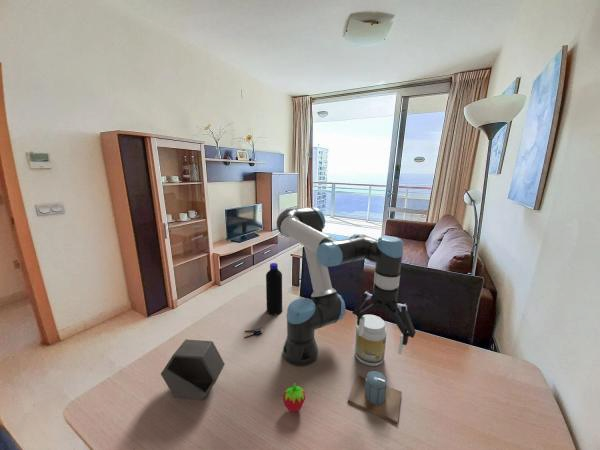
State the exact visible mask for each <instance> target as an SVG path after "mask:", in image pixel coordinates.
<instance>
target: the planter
mask: <svg viewBox="0 0 600 450" xmlns="http://www.w3.org/2000/svg"><path fill="white" fill-rule="evenodd" d="M224 367H225V362H224V360H223V358H222V356H221V355H220V352H219V351H218V350H217V347H216V345H215V344H214V341H211V340H199V339H197V340H196V339H184V340H183V342H181V345H180V346H179V347H178V348H177V349H176V351H175V352H174V353H173V355H171V358H170V359H169V361H168V362H167V363H166V365H165V367H164V368H163V370H162V371H161V372H160V376H161V377H162V379H163V380H164V382H165V384H166V386H167V387H168V389H169V391H170V392H171V394H172V395H173V397H174V398H175V397H178V398H177V399H186V400H198V401H203V400H204V398H206V397H207V395H208V393H209V392H210V390H211V389H212V388H213V387H214V385H215V384H216V383H217V381H218V379H219V376H220V375H221V372H222V370H223V368H224Z"/></svg>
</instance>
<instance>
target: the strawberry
mask: <svg viewBox="0 0 600 450" xmlns="http://www.w3.org/2000/svg"><path fill="white" fill-rule="evenodd" d="M282 400H283V404H284V406H285V408H286V409H287V411H288V412H291V413H298V412H299V411H300V410H301V409H302V407H303V405H304V402H305V401H306V394H305V390H304V389H303V388H302V387H301V386H299V385H296V382H294V383H293V384H292V387H288V388H286V390H285V391H284V393H283V395H282Z"/></svg>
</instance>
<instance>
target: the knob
mask: <svg viewBox="0 0 600 450" xmlns="http://www.w3.org/2000/svg"><path fill="white" fill-rule="evenodd" d="M365 378H366V386H365V396H366V397H367V399H368V401H370V402H371V403H374V404H376V405H379V404H382V403H384V402H385V396H386V387H387V386H388V381H387V377H385V375H384V374H383V373H382V372H380V371H375V370H371V371H368V372H367V374H366V377H365Z"/></svg>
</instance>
